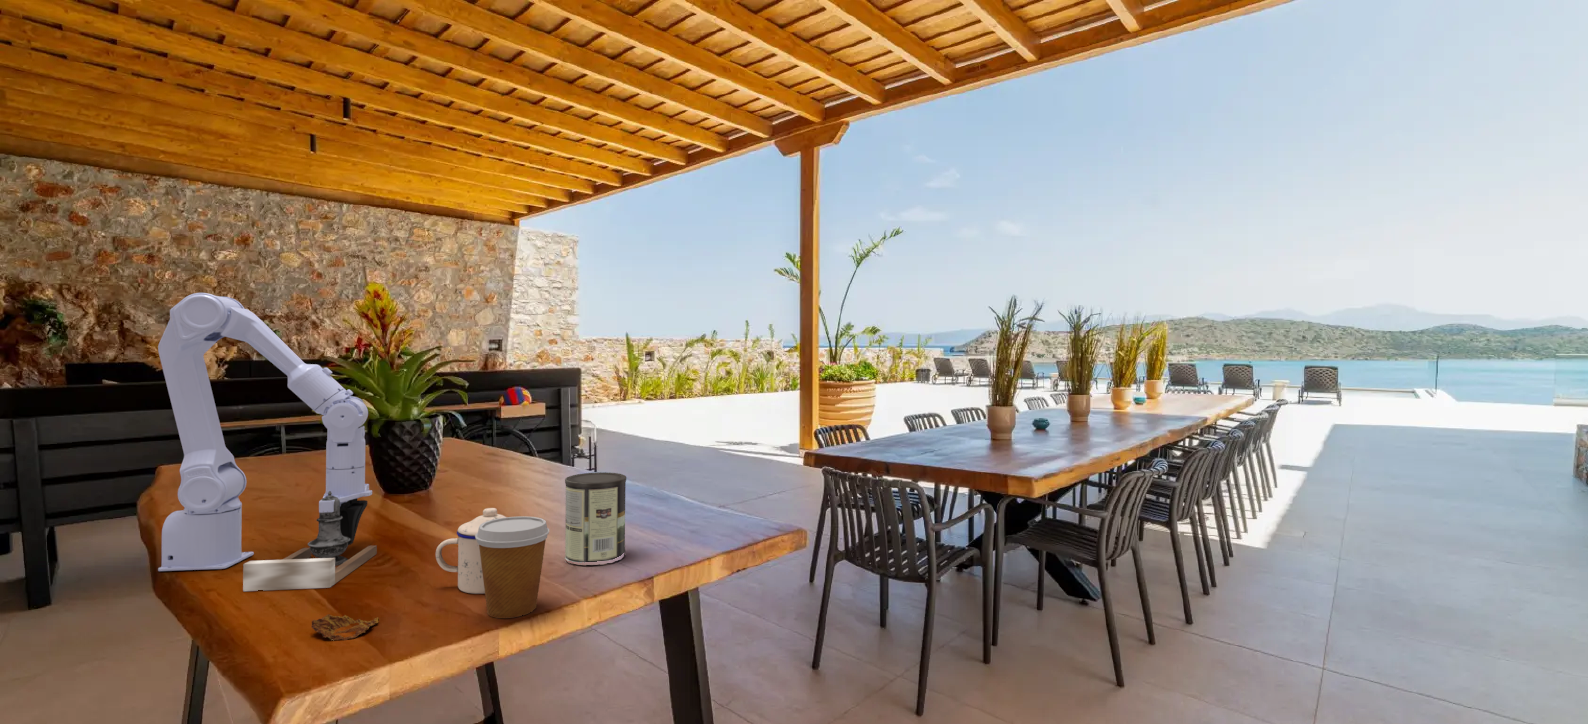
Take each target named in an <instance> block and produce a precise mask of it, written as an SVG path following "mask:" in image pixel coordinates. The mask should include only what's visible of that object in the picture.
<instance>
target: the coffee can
mask: <svg viewBox="0 0 1588 724" xmlns="http://www.w3.org/2000/svg"><path fill="white" fill-rule="evenodd" d="M626 481H627V475H625V474H622V473H618V472H607V471H605V472H598V471H597V472H586V473H578V474H577V473H576V474H573V475H570V476H567V477H565V479H564V483H565V533H564V534H565V538H564V539H565V542H564V544H565V546H564V548H565V550H564V551H565V552H564V553H565V554H564V560H565V559H566V560H567V561H572V562H578V563H579V562H580V563H582V562H584V563H585V562H597V561H609V560H613V559H615V558H617V557H619V556H621V555H622V554H623V553H624V552H625V553H626V483H627V482H626Z"/></svg>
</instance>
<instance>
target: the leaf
mask: <svg viewBox="0 0 1588 724" xmlns="http://www.w3.org/2000/svg"><path fill="white" fill-rule="evenodd" d="M379 621H380V618H379V617H378V616H377V617H376V618H373V619H372V620H361V618H358V619H356V620H354V618H352V617H350V616H348V615H346V614H344V615H343V616H339V615H332V614H329V613H328V614H326V615H324V616H323V617H322V618H318V619H312V620H311V628H312V629H313V630H314V631H315V632H317V633H318V634H321V635H322V638H328V639H329V640H331V641H332V640H333V641H340V640H342V641H347V640H349V639H355V638H357V637H358V636H359V635H362V634H363V633H366V631H367V630H369V628H370V627H372V626H374V625H376V624H378V623H379ZM357 623H358V624H357ZM351 624H356V625H353V626H352V627H350V628H347V629H344V630H338V629H340V628H346V627H348V626H350V625H351ZM352 632H355V634H352V636H351V635H349V636H343V635H341V634H347V633H352Z"/></svg>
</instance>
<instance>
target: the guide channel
mask: <svg viewBox="0 0 1588 724" xmlns="http://www.w3.org/2000/svg"><path fill="white" fill-rule="evenodd" d="M377 546H378V545H377V544H376V545H367V546H366V547H365V548H363V549H362V550H360V551H358V552H357V553H356V554H355V555H353V556H352V557H350V558H348V560H347V561H346V562H344V563H343V564H341V565H337V566H335V558H318V557H315V558H314V557H313V558H311V557H312V553H311V551H310V547H303V548H300V549H299V550H296V552H294V553H293V552H292V553H291V554H289V555H287V556H286V557H284V558H283V559H265V560H263V559H262V560H249V561H247V562H244V563H243V564H242V566H243V569H242V573H243V574H242V584H243V585H242V591H243V592H257V591H258V590H263V591H278V590H279V591H282V590H283V591H284V590H305V589H307V590H308V589H326V588H327V589H328V588H332V587H333V586H334V585H335V584H337V583H338V582H340V581H341V580H343V579H345V578H346V577H347V576H348V575H349V574H351V573H352V572H353V571H355V570H356V569H358V568H359V567H361V565H363V564H365V563H367V562H368V561H369V560H370V559H371V558H373V557H375V556H376V555H377V554H378V548H377ZM258 592H259V591H258Z"/></svg>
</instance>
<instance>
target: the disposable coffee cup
mask: <svg viewBox="0 0 1588 724" xmlns="http://www.w3.org/2000/svg"><path fill="white" fill-rule="evenodd" d="M505 517H506V518H499V519H494V520H490V521H487V522H484V523H482V524H481V525H480V526H479V529H478V533H477V534H476V535H475V539H476V540H477V543H478V544H479V549H480V557H481V565H482V573H483V581H484V589H485V594H484V597H485V602H486V604H485V605H486V611H487V612H486V614H487V615H488V616H490V617H492V618H495V619H512V618H518V617H523V616H525V615H528V614H531V613H532V612H533V610H534V609H535V608H536V609H537V603H538V597H539V590H540V582H541V575H542V568H543V563H544V562H543V561H544V554H545V547H546V540H547V538H548V535H549V533H550V528H549V527H548V526H547V521H546V520H545V519H543V518H541V517H537V516H528V515H527V516H525V515H524V516H523V515H522V516H521V515H520V516H509V517H508V516H505ZM536 609H535V610H536ZM535 610H534V611H535ZM530 612H531V613H530ZM522 615H523V616H522Z"/></svg>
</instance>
